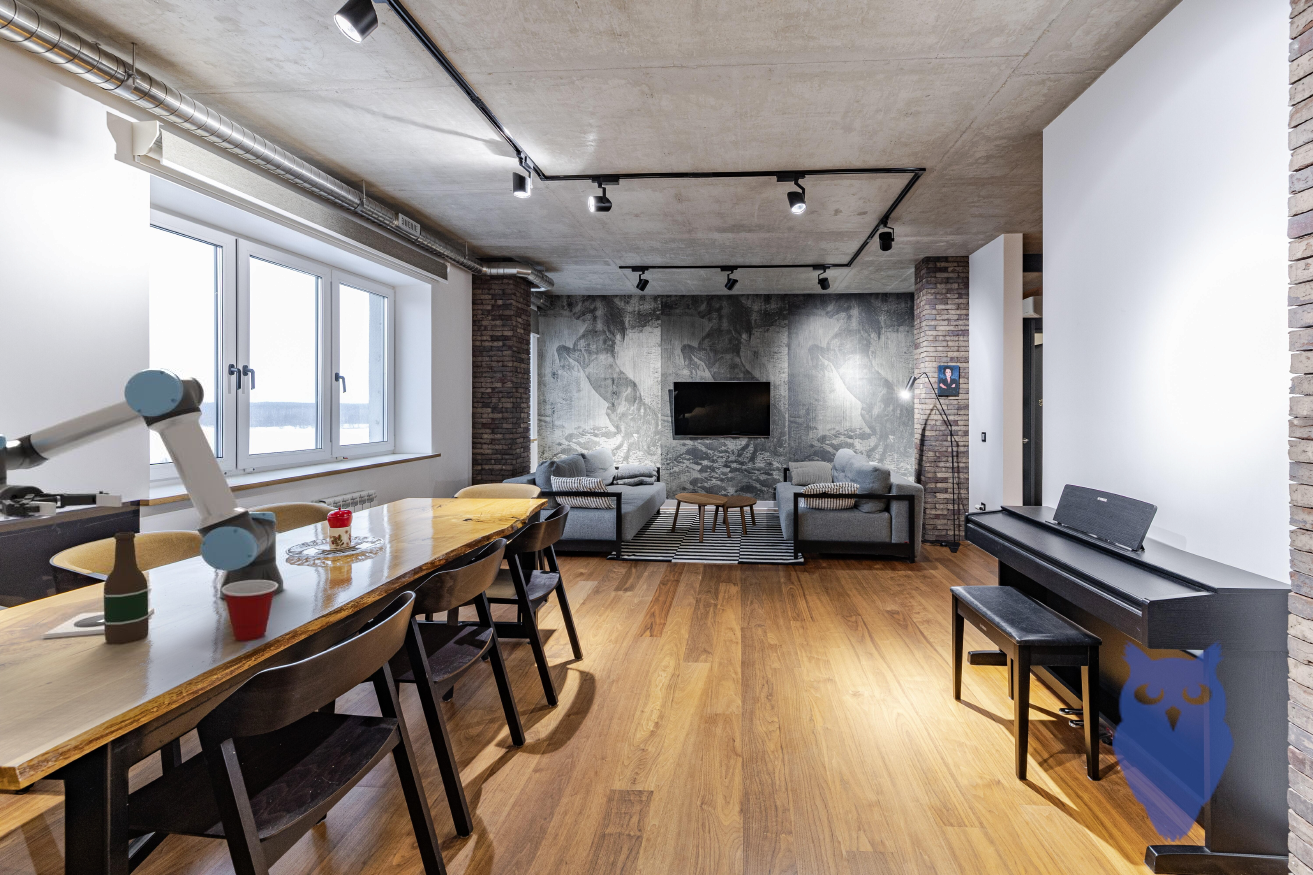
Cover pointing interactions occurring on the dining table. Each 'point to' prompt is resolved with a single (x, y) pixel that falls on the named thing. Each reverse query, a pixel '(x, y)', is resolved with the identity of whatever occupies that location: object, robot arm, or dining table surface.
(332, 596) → the dining table surface
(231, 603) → the plastic cup
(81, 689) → the dining table surface
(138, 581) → the beer bottle
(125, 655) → the dining table surface
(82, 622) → the tile
